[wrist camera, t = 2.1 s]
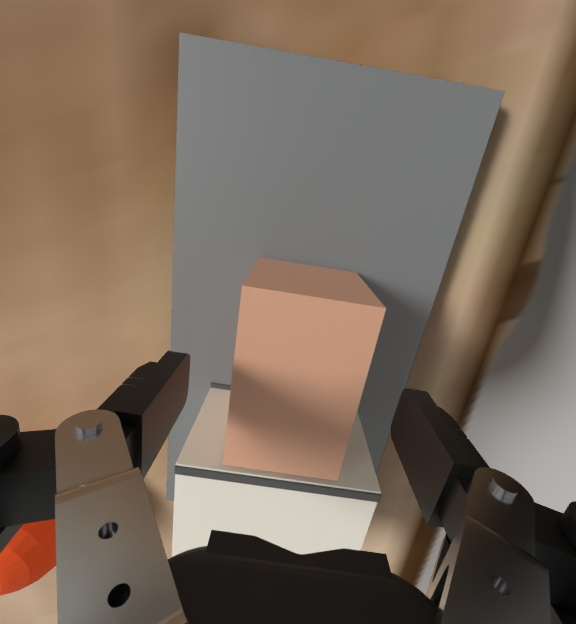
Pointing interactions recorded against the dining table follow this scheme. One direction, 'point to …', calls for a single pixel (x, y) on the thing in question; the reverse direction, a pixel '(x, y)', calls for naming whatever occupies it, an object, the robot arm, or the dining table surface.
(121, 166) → the dining table surface
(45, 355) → the dining table surface
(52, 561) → the clementine
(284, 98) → the grey tray
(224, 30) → the dining table surface
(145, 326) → the dining table surface
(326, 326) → the stub
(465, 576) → the robot arm
